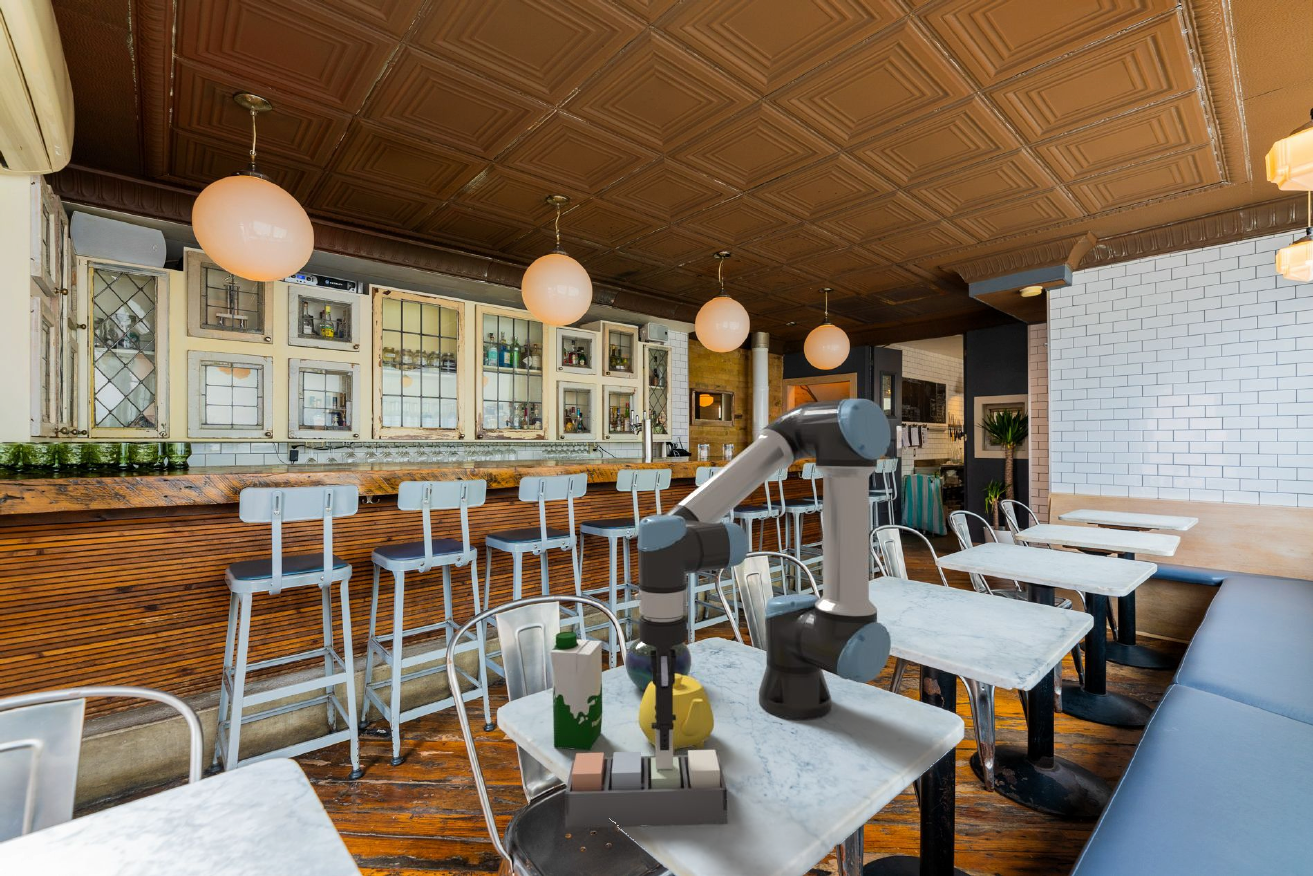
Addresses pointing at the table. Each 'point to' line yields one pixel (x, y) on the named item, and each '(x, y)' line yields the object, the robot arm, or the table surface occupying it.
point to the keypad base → (646, 801)
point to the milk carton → (576, 691)
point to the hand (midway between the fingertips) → (664, 766)
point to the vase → (641, 662)
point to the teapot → (681, 713)
